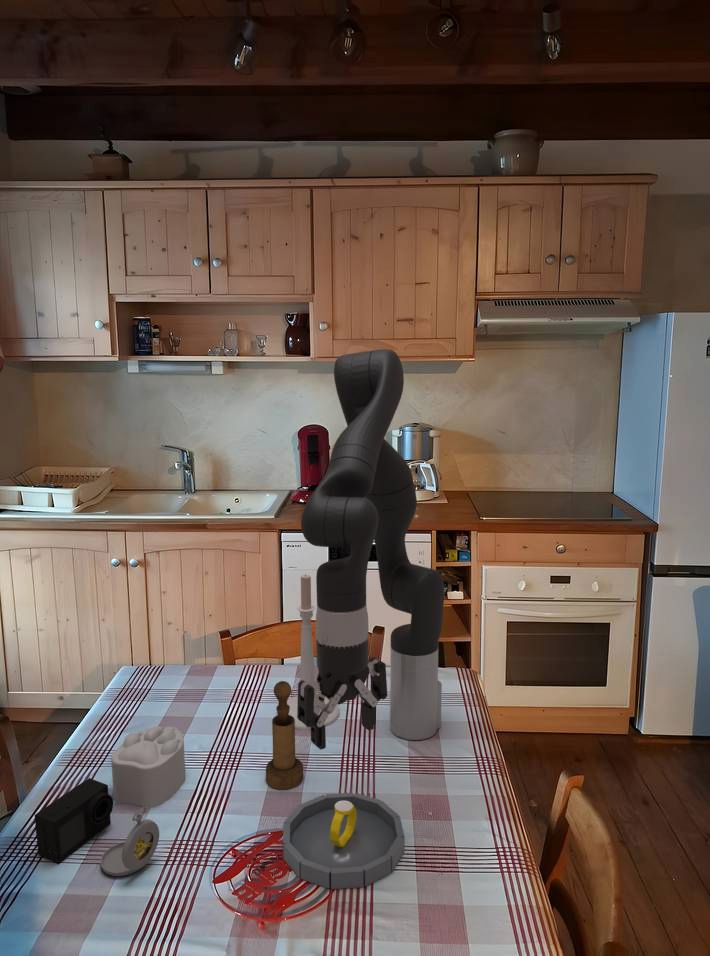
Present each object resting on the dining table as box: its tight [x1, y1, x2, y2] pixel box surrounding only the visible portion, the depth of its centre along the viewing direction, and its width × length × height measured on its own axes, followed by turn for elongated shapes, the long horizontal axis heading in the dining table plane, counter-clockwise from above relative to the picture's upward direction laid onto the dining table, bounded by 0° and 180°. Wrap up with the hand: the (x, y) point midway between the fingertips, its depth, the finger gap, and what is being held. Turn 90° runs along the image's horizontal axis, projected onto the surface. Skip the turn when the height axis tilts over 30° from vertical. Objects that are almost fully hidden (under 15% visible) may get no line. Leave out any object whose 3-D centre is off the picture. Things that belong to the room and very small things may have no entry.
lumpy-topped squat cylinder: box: [110, 725, 186, 809], centre depth 125 cm, size 10×13×9 cm
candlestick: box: [276, 573, 340, 731], centre depth 146 cm, size 13×13×30 cm
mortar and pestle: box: [265, 680, 304, 790], centre depth 125 cm, size 7×6×18 cm
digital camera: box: [34, 777, 114, 865], centre depth 110 cm, size 10×5×7 cm, turn 153°
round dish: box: [282, 792, 405, 890], centre depth 109 cm, size 18×18×2 cm
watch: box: [330, 801, 357, 848], centre depth 109 cm, size 6×3×6 cm, turn 153°
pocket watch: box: [100, 807, 160, 877], centre depth 105 cm, size 8×8×10 cm
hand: (344, 737), depth 106 cm, fingers open, 8 cm apart
